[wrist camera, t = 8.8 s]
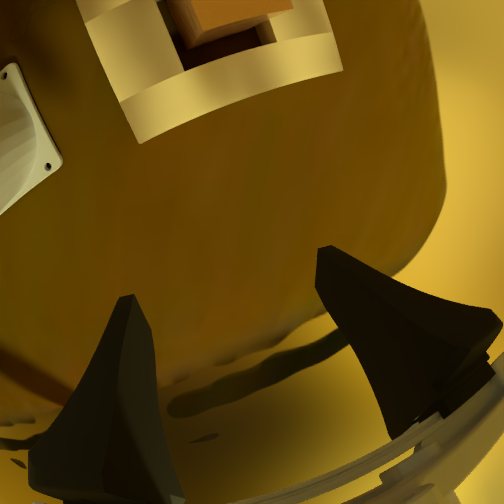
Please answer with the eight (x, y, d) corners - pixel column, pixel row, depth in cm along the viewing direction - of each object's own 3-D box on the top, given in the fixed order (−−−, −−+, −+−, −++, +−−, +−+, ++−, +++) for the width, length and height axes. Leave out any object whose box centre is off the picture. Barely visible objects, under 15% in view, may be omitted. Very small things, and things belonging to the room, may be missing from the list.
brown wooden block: (186, 50, 13) (203, 31, 7) (166, 2, 11) (171, -42, 5) (243, 31, 13) (294, 8, 8) (224, -16, 11) (264, -61, 5)
